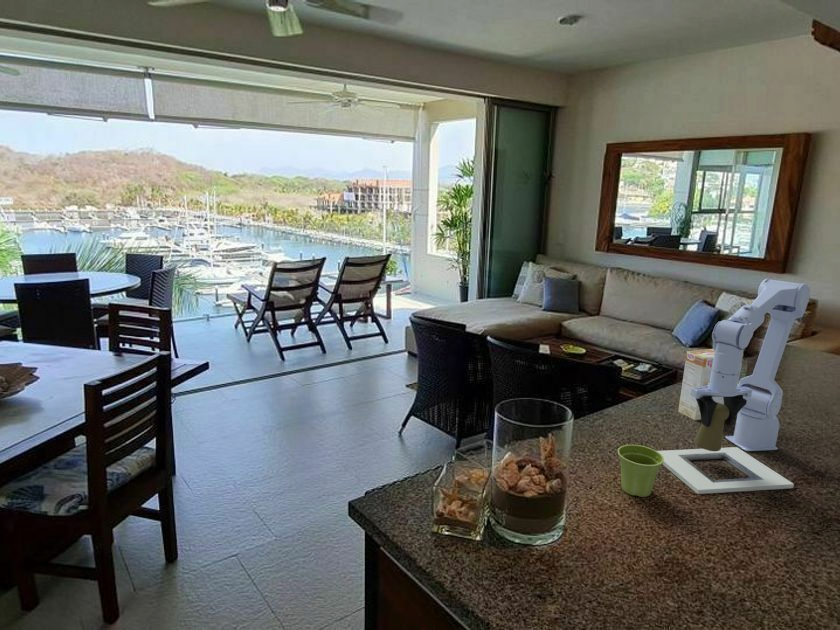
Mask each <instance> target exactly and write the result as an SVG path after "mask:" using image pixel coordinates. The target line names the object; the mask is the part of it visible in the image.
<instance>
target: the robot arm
mask: <svg viewBox="0 0 840 630" xmlns="http://www.w3.org/2000/svg"><path fill="white" fill-rule="evenodd" d="M759 284H760V285H759V287H758V289H757V297H756V298H755V299H754V300H753V301H752V303H750V304H744V305H743V306H741V307H740V308H739V309H738V310H736V311H735V313H733V314H732V315H731V316H730V317H729V318H728V319H727V320H726V319H722V320H721V321H718V322H717V323H715V326H714V328H713V331H712V333H711V338H712V339H711V340H712V349H713V350H715V352H714V358H713V364H712V370H711V376H710V382H709V383H708V385H707V386H702V387H698V388H692V391H691V396H692V397H694V398H696V401H697V403H698V406H699V409H700V414H701V420H700V421H701V422H700V423H701V424H703V425H705V426H706V427H710V424H711V420H712V415H713V412H714V410H715V408H716V406H717V405H718V403H717V402H715V401H713V399H712V397H723V399H724V405H725V406H726V407H728V409H729V416H728V418H727V419H726V420H725V421H724V425H726V426H727V427H731V425H732V424H733V422H734V420H735V418H736V421H735V426H734V431H733V435H726V436H725V439H726V440H727V441H729V442H731V443H733V444H734V445H736V447H738V448H739V449H741V450H742V451H743V450H744V452H756V451H757V452H759V451H777V450H778V449H779V448H778V447H777V440H778V434H779V430H780V421H779V418H778V417H777V415H778V414H779V412H780V410H781V407H782V403H783V402H782V401H783V395H784V391H783V390H782V388H781V386H780V385H779V384H778V383H777V382H776V380H775V378H776V375H777V372H778V369H779V366H780V364H781V360H782V358H783V357H782V356H783V354H784V351H785V348H786V345H787V342H788V339H789V336H790V333H791V330H792V328H793V325H794V323H795V320H796V319H800V318H803V317H804V314H805V313H806V310H807V306H808V304H809V301H810V297H811V296H810V295H811V291H810V290H811V289H810V287H809V285H808V284H807V283H801V282H792V281H786V280H778V279H771V278H765V279H763V280H762V281H761V283H759ZM766 314H769V315H770V321H769V323H768V324H769V325H768V327H767V330H766V333H765V336H764V339H763V342H762V344H761V348H760V351H759V354H758V356H757V357H758V358H757V361H756V363H755V366H754V369H753V372H752V374H751V375H748V376H744V377H742V378H740V377H739V372H740V373H741V371H740V366H741V367H742V365H741V361H742V362H743V359H742V355H743V354H744V350H745V348H747V347H748V346H749V344H750V341H751V339H752V338H753V335H754V332H755V331H756V330H757V329H758V328H759V327H760V326H761V325H762V324H763V323H764V322H765V315H766ZM743 356H744V355H743ZM738 378H739V383H738ZM737 383H738V386H737ZM755 387H756V388H755ZM760 388H761V389H760ZM762 389H763V390H762Z"/></svg>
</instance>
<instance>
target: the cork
mask: <svg viewBox="0 0 840 630" xmlns="http://www.w3.org/2000/svg"><path fill="white" fill-rule="evenodd" d="M717 403H718V402H717ZM728 416H729V409H728V407H726V406H725V405H723V404H721V403H718V405H717V406H716V408H715V410H714V412H713V415H712V420H711V424H710V427H706V426H705V425H703V424H702V423H701V424H700V425H699V428H698V431H697V433H696V435H695V437H694V439H693V442H694V444H695V445H696V446H698V447H699V448H700V449H705V450H709V451H719V450H720V449H721V448H722V443H723V436H724V434H723V433H724V429H725V428H724V427H725V424H724V421H725V420H726V419H727V418H728Z"/></svg>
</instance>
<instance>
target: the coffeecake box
mask: <svg viewBox="0 0 840 630" xmlns="http://www.w3.org/2000/svg"><path fill="white" fill-rule="evenodd" d="M714 352H715V350H713V348H709V349H697V350H696V349H695V350H687V351H686V355H685V356H686V357H685V364H684V369H683V376H682V377H683V378H682V383H681V390H680V391H681V392H680V396H679V397H680V398H679V403H678V410H677V412H678V413H679V414H681V415H683V416H686V417H687V418H690V419H691V420H693V421H701V414H700V409H699V406H698V403H697V401H696V398H694V397H692V396H691V391H692V388H698V387H702V386H707V385H708V383H709V382H710V376H711V370H712V364H713V358H714ZM743 358H744V353H743V355H742V361H741V366H740V372H739V378H738V383H737V386H738V384H739V381H740V376H741V369H742V364H743ZM712 399H713V401H715V402H718V403H721V404H723V405H724V399H723V397H712Z"/></svg>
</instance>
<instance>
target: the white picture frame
mask: <svg viewBox="0 0 840 630" xmlns="http://www.w3.org/2000/svg"><path fill="white" fill-rule="evenodd" d="M656 451H657V452H659V453H660V454H661V455H662V456H663V457H664V462H663V464H662V465H663V466H664V467H665V468H666V469H668V471H669V472H671V473H673V475H674V476H675V477H676V478H678V479H679V480H681V481H682V483H684V484H685V485H686V486H687V487H688V488H690V489H691V490H692V491H693V492H694V493H696V494H697V495H703V494H719V493H733V492H735V493H737V492H751V491H767V490H768V491H769V490H770V491H771V490H784V489H785V490H786V489H794V486H795V485H794V484H795V483H793V482H792V481H790V480H789V479H787V478H785V477H784V476H782V475H781V474H779V473H777V472H776V471H775V470H773V469H772V468H770V467H768V466H767V465H765V464H763V463H762V462H761V461H759V460H758V459H756V458H755V457H753V456H752V455H750V454H748V453H747V452H746V451H745V450H744V451H743V449H742V448H740V447H739V446H734V447H733V446H732V447H731V446H730V447H721V449H720V450H719V451H709V450H705V449H703V448H691V449H670V450H665V449H664V450H656ZM713 459H715V460H716V459H717V460H719V459H724V460H725V461H726V462H728V463H730V465H732V466H734V468H736V469H737V470H739V471H741V472H742V473H744V474H745V475H746V476H747V477H745V478H744V477H743V478H742V477H741V478H727V479H726V478H725V479H713V478H712V477H711V476H710V475H708V474H707V473H706V472H704V471H703V470H702V469H700V468H699V467H698V466H697V465H695V464H694V463H693V462H692V461H694V460H695V461H696V460H697V461H699V460H713Z"/></svg>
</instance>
